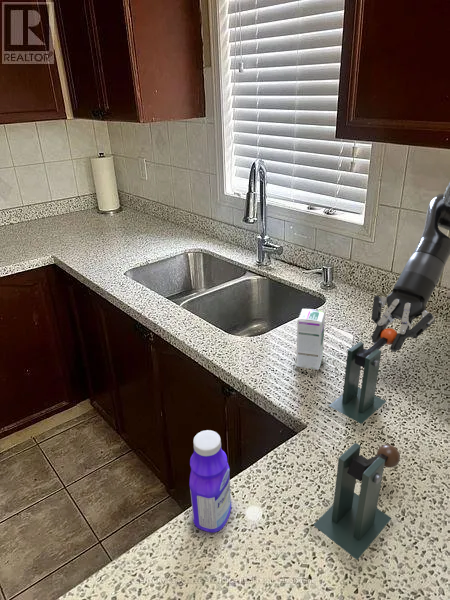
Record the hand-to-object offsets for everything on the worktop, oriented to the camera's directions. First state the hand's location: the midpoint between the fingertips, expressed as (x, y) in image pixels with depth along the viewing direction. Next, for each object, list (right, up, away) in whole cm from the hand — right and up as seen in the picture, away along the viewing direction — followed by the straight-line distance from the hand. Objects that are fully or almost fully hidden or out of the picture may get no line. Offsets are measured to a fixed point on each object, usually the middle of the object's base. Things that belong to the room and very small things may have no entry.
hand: (383, 346), depth 96 cm
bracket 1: (-6, -13, +1) cm, 14 cm away
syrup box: (-13, -6, +15) cm, 21 cm away
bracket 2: (-14, -26, -25) cm, 39 cm away
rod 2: (-11, -17, -26) cm, 33 cm away
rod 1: (-2, -1, -2) cm, 3 cm away
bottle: (-36, -26, -22) cm, 50 cm away
